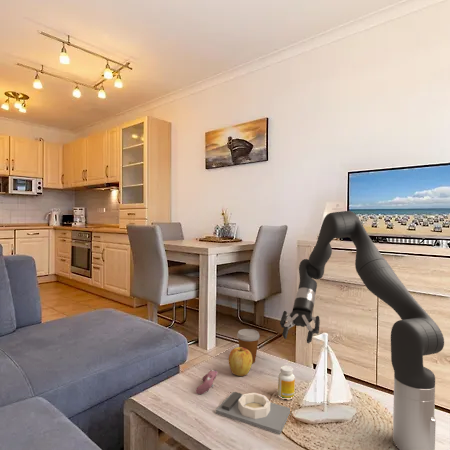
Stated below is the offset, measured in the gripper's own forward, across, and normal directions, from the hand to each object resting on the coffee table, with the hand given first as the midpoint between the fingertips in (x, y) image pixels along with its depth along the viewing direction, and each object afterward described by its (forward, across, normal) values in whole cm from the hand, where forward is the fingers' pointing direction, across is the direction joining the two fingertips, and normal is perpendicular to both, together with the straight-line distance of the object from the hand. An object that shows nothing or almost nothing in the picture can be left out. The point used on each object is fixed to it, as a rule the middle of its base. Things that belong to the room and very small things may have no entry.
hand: (296, 340), depth 117 cm
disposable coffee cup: (+6, -22, +16) cm, 28 cm away
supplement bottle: (+19, 0, +3) cm, 19 cm away
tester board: (+28, -6, -7) cm, 30 cm away
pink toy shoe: (+25, -26, -3) cm, 36 cm away
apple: (+14, -20, +8) cm, 26 cm away
